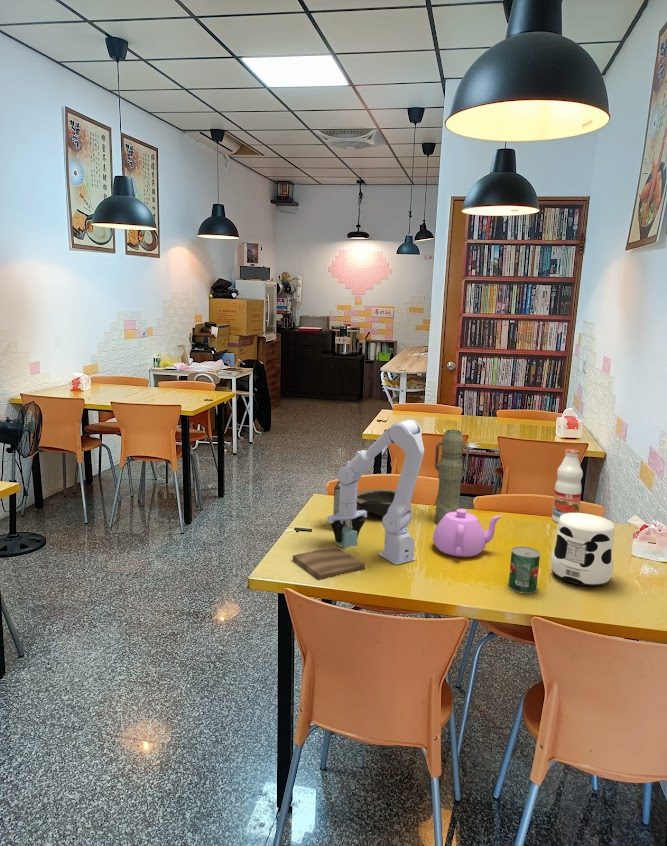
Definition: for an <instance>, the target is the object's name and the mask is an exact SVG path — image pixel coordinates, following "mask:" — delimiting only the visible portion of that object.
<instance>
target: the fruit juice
mask: <svg viewBox="0 0 667 846" xmlns="http://www.w3.org/2000/svg"><path fill="white" fill-rule="evenodd" d="M564 454H565V457H564V458H563V460H562V462H561V463H560V465H559V466H558V467H557V472H556V476H557V479H556V481H555V483H554V485H555V486H554V495H553V504H552V513H551V519H552V521H554V522H555V523H557V524H559V520H560V516H561V515H563V514H567V513H580V508H581V507H580V504H581V497H582V482H581V481H582V478H583V476H584V472H583V469H582V467H581V464H580V460H579V454H580V450H578V449H576V448H575V449H574V448H566V449H565V452H564Z"/></svg>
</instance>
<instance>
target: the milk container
mask: <svg viewBox="0 0 667 846" xmlns="http://www.w3.org/2000/svg"><path fill="white" fill-rule="evenodd" d="M557 524H558V525H557V531H556V541H555V545H554V548H553V550H552V553H551V558H550V563H551V569H552V571H553V573H554V574H555V575H556V576H557V577H559V578H560V579H562V580H563V581H567V582H568V583H571V584H577V585H579V586H587V587H588V586H589V587H591V586H592V587H594V586H595V587H597V586H601V585H605V584H607V583H608V582H610V580H611V578H612V575H613V573H614V560H613V547H614V546H613V545H614V538H615V524H614V523H613V521H612V520H609V519H608V518H606V517H603V516H598V515H595V514H590V513H586V512H585V513H584V512H583V513H582V512H579V513H567V514H563V515H561V516H560V520H559V523H557Z"/></svg>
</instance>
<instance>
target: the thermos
mask: <svg viewBox="0 0 667 846" xmlns="http://www.w3.org/2000/svg"><path fill="white" fill-rule="evenodd" d="M440 446H441V454H440V455H441V456H440V460H439V453H440ZM464 448H465V449H466V453H465V454H466V455H465V466H464V461H463V451H464ZM469 451H470V448H469V446H468V445H467V444H465V443H464V436H463V432H462V431H460V430H459V429H458V430H457V429H447V430H445V431H444V433H443V436H442V440H441V441H440V442H438V443H437V444H436V445H435V457H434V459H435V460H434V468H435V470H436V471H437V472H438V474H437V477H438V493H437V504H436V507H435V512H434V513H435V515H434V516H435V521H434V522H435V524H436V525H438V523H439V522H440V521H441V519H442V518H443V517H444V516H445V515H446V514H447V513H449V512H456V510H457V509H461V508H460V499H461V497H460V496H461V485H462V484H461V483H462V482H461V481H462V480H463V476H464V475H463V474H467V473H468V472H467V471H468V465H469V453H470V452H469Z"/></svg>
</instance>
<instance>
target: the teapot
mask: <svg viewBox="0 0 667 846" xmlns="http://www.w3.org/2000/svg"><path fill="white" fill-rule="evenodd" d="M503 516H504V515H500V514H499V515H495V516H493V517H492V518H491V519H490V520H489V521H490V522H489V526H488V528H487V529H486V530H485V531H484V529H483V527H482V524H481V522H480V521H479V519H478V518H477V516H476V515H475V514H472V513H469V512H468V511H467V510H466V509H463V508H460V509H457V510H456V512H449V513H447V514H446V515H445V516H444V517H443V518H442V519H441V521H440V522H439V523H438V524H436V527H435V529H434V531H433V535H432V541H433V544H434V545H435V547H436V548H437V550H439V551H440V552H441V553H443V554H445V555H450V556H453V557H461V558H469V557H474V556H477V555H479V554H480V553H481V552H482V551H483V550H484V549H485V548H486V545H487V544H488V543H490V542H491V541H492V540H493V537H494V536H495V530H496V524H497V522H498V520H499V519H501V518H503Z"/></svg>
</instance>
